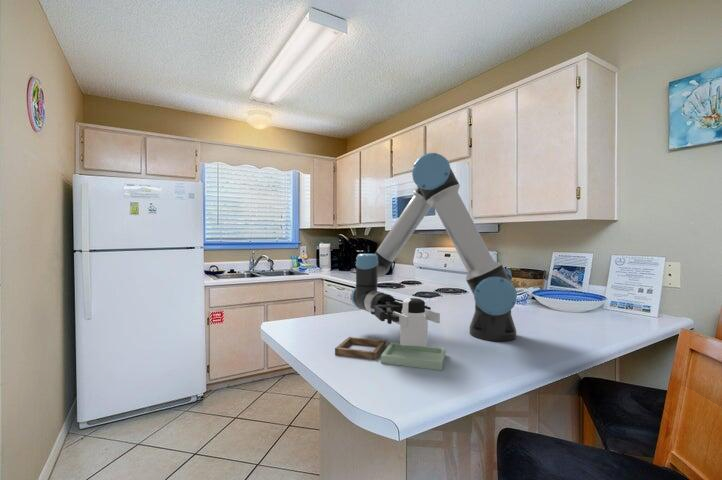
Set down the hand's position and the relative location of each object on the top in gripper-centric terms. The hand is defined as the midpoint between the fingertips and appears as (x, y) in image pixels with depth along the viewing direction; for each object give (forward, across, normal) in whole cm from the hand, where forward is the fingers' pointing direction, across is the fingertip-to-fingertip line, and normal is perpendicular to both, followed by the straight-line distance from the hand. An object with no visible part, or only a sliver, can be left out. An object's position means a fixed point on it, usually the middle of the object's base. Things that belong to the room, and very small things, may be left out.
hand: (423, 320), depth 92 cm
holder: (-17, +10, -12) cm, 23 cm away
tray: (-4, 0, -12) cm, 12 cm away
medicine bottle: (-4, 0, -7) cm, 9 cm away
